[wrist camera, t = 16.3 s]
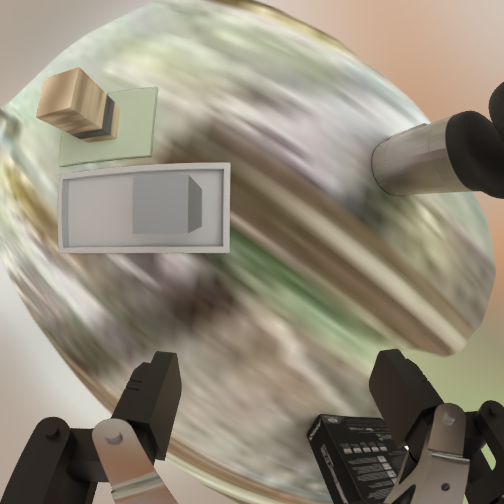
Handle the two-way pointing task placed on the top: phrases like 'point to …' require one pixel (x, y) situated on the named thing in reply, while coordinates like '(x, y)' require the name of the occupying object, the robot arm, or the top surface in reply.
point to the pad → (118, 132)
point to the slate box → (166, 204)
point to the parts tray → (120, 211)
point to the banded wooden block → (78, 107)
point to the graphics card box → (356, 457)
